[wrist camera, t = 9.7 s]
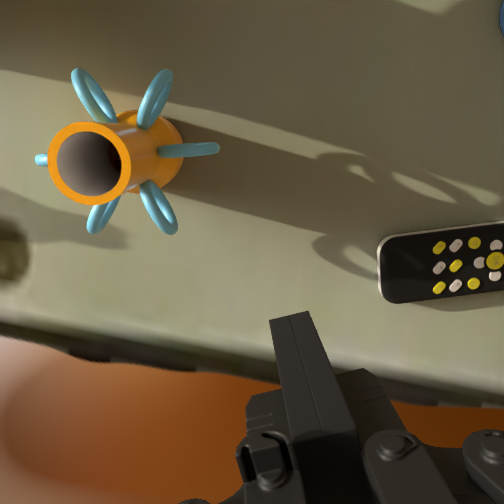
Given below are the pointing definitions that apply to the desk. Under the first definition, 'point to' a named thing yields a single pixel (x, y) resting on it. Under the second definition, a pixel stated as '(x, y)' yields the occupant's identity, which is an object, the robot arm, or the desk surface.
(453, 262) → the remote control
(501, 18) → the blue disc with handle
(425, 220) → the desk surface
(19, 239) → the desk surface
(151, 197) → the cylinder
